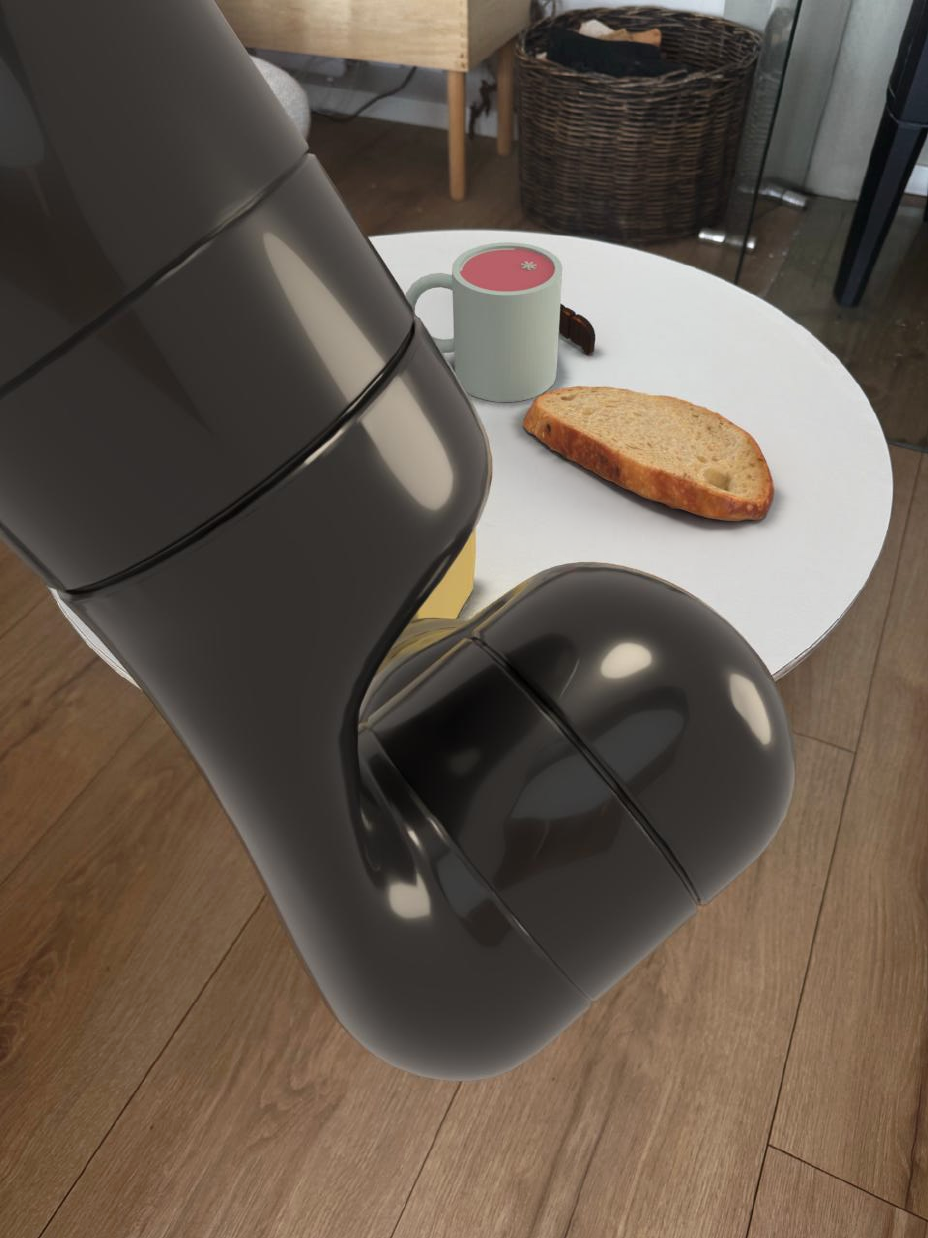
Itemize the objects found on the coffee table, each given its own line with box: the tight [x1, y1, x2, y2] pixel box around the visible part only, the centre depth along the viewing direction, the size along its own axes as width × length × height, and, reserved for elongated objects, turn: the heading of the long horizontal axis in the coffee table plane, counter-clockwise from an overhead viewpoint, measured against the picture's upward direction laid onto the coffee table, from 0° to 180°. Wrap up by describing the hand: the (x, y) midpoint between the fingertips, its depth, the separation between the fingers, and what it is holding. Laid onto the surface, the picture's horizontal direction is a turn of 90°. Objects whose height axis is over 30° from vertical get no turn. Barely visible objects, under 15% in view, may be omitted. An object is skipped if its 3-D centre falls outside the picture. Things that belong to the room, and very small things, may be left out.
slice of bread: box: [522, 385, 775, 522], centre depth 79 cm, size 18×18×4 cm
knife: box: [559, 302, 596, 356], centre depth 95 cm, size 17×1×3 cm, turn 36°
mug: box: [405, 241, 563, 403], centre depth 86 cm, size 14×9×10 cm
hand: (409, 686), depth 53 cm, fingers closed
